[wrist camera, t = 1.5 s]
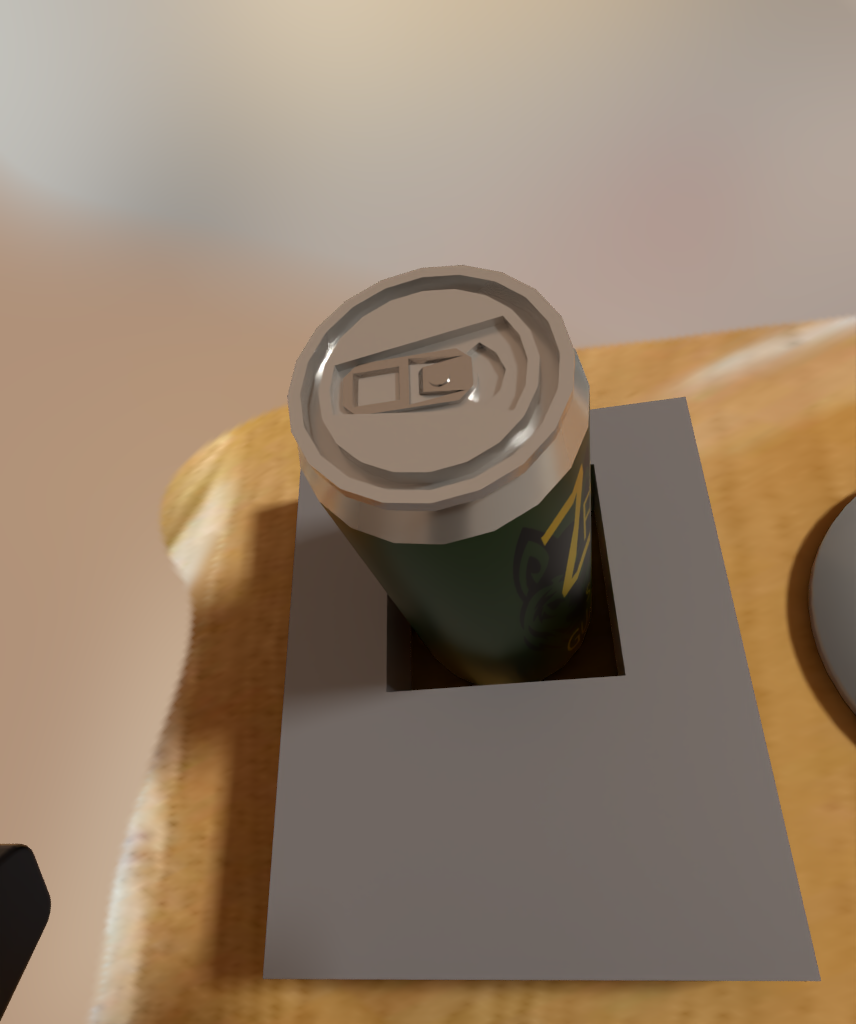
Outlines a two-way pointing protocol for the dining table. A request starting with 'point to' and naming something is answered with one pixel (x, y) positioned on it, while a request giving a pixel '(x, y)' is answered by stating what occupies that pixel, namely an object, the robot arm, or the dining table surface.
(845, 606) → the coaster
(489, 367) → the beer can
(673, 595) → the can dock
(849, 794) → the dining table surface
